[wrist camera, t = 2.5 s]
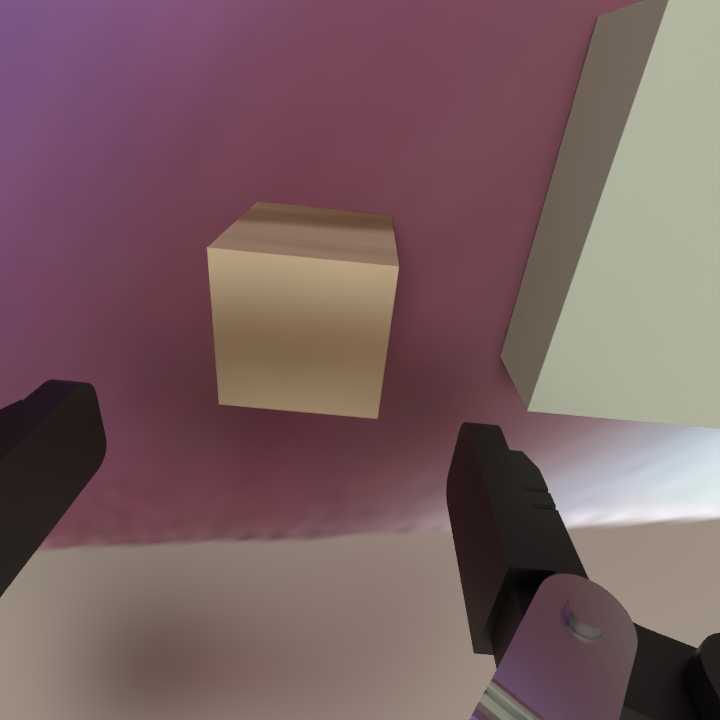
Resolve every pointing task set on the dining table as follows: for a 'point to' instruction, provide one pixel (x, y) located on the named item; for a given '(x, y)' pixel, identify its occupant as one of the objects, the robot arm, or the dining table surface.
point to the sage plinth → (631, 231)
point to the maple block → (303, 308)
